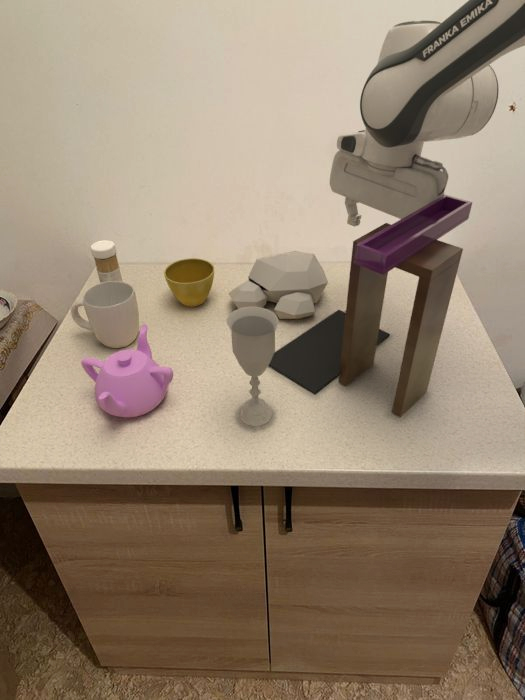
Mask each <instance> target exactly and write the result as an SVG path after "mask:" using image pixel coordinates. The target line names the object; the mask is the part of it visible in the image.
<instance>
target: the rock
mask: <svg viewBox="0 0 525 700" xmlns="http://www.w3.org/2000/svg"><path fill="white" fill-rule="evenodd" d="M247 277H248V280H246V281H245V282H243V283H241V284H240V285H238V286H236V287H235V288H234V289H232V290H230V291H229V292H228V295H229V297H230V300H231V301H232V303H233V304H234V305H235V307H236V308H237V309H239V308H243V307H261V308H265V306H266V304H267V302H269V303H275V304H276V305H275V307H274V309H273V310H274V312H275V313H276V316H277V317H278V319H279V320H301V319H304V318H308V317H311V316H315V314H316V307H315V304H317V303H318V301H319V300H320V298H321V296H322V294H323V293H324V291H325V289H326V287H327V285H328V283H329V281H328V277H327V275H326V273H325V270H324V268H323V267H322V265H321V263H320V261H319V259H318V258H317V256H316V255H315V254H314V253H311V252H305V251H298V250H293V251H287V252H282V253H276V254H272V255H268V256H263V257H259V258H256V260H255V262H254V264H253V266H252V267H251V269H250V272H249V274H248V275H247Z"/></svg>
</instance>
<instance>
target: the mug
mask: <svg viewBox="0 0 525 700" xmlns="http://www.w3.org/2000/svg"><path fill="white" fill-rule="evenodd" d="M79 307H83V309H84V311H85V314H86V318H87V319H88V320H85V319H84V318H83V317H82V316H81V315H80V313H79ZM70 315H71V318H72V320H73V321H74V322H75V324H77V326H79V327H80V328H82V329H85V330H86V331H93V334H94V335H95V337H96V338H97V340H98V342H100V343H101V344H102V345H103V346H105V347H107V348H110V349H120V348H125V347H127V346H129V345H131V344H132V343H133V342H134V341H135V340H136V338H138V335H139V330H140V329H139V327H140V316H139V315H140V313H139V306H138V300H137V295H136V291H135V289H134V287H133V286H132V285H131V284H130V283H128V282H124V281H123V282H121V281H107V282H102V283H100V282H99V283H96V284H94V285H92V286H91V287H89V288H88V289H87V290H85V292H84V293H83V294H82V298H80V299H78V300H76V301H74V302H73V304H72V306H71V307H70Z"/></svg>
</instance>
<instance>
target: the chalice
mask: <svg viewBox="0 0 525 700" xmlns="http://www.w3.org/2000/svg"><path fill="white" fill-rule="evenodd" d="M279 323H280V322H279V317H278V315H277V314H275V313H274V312H273V311H272V310H270V309H267V308H265V307H263V308H261V307H243V308H239V309H238V308H237V309H235V310H232V311H231V312H230V313H229V314H228V316H227V318H226V324H227V327H228V328H229V330H230V332H231V348H232V353H233V355H234V357H235V359H236V361H237V363H238V365H239V366H240V367H241V369H242V370H243V371H244V373H245V374H246V375H247V376H250V377H251V379H250V380H249V381H248V382H249V383H248V384H249V385H250V386H251V388H250V389H249V391H248V392H249V394H250V395H251V398H249V399H247V400H246V401H245V402H244V403H243V406H242V408H241V409H240V412H239V418H240V420H241V421H242V422H243V423H244V424H245V425H248V426H251V427H260V426H264V425H266V424H268V423H269V422H270V421H271V419H272V416H273V412H272V409H271V408H270V407H269V405H268V403H267V401H266V400H264V399H263V398H261V397H259V396H260V395H261V393H262V390H261V389H260V388H259V386H260V384H261V381H260V380H259V377H260V376H261V375H263V374H264V373H265V371H266V370H267V368H268V367H269V366H268V365H269V364H270V362H271V359H272V357H273V355H274V353H275V352H276V330H277V328H278V326H279Z"/></svg>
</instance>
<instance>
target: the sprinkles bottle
mask: <svg viewBox="0 0 525 700" xmlns="http://www.w3.org/2000/svg"><path fill="white" fill-rule="evenodd" d="M90 251H91V256H92V257H93V260H94V262H95V267H96V272H97V276H98V280H99V283H102V282H107V281H121V282H124V281H123V277H122V271H121V267H120V265H119V261H118V256H117V248H116V244H115V242H114V241H112V240H108V239H102V240H98V241H96V242H94V243H92V244H91V246H90Z"/></svg>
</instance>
